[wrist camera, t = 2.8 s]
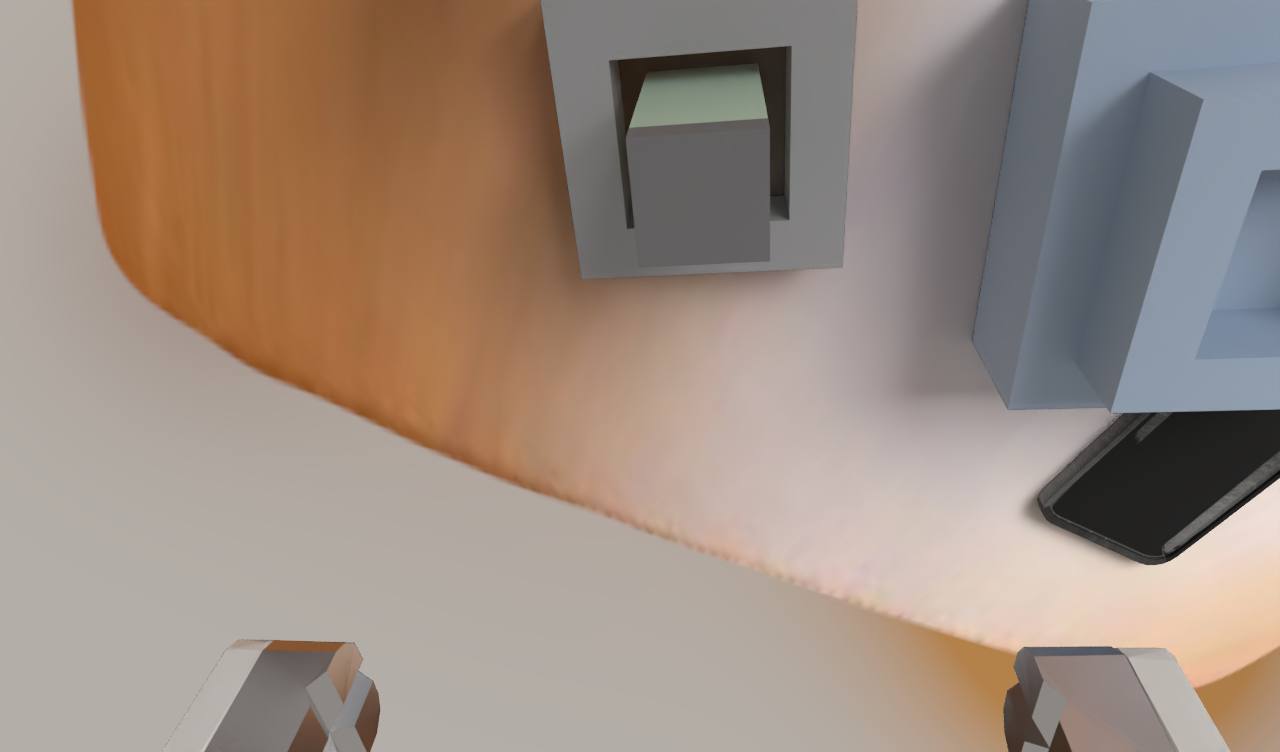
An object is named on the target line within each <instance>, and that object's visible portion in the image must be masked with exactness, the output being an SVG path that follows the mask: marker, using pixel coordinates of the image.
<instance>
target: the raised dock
mask: <svg viewBox="0 0 1280 752" xmlns="http://www.w3.org/2000/svg"><path fill="white" fill-rule="evenodd" d="M972 342H973V344H974V346H975V348H976V350H977V352H978V354H979V355H980V357H981V359H982V361H983V363H984V365H985V367H986V369H987V371H988V373H989V375H990V377H991V378H992V380H993V382H994V384H995V386H996V388H997V390H998V392H999V394H1000V396H1001V398H1002V400H1003V402H1004V403H1005V405H1006V407H1007V409H1008V410H1026V409H1068V408H1107V409H1108V410H1109V412H1110V413H1142V412H1186V411H1230V410H1274V409H1280V0H1029V1H1028V7H1027V13H1026V19H1025V25H1024V31H1023V37H1022V43H1021V49H1020V55H1019V61H1018V67H1017V73H1016V79H1015V85H1014V91H1013V97H1012V103H1011V109H1010V115H1009V121H1008V127H1007V134H1006V140H1005V146H1004V152H1003V158H1002V164H1001V170H1000V176H999V182H998V188H997V194H996V200H995V206H994V212H993V218H992V224H991V230H990V236H989V242H988V248H987V254H986V260H985V266H984V272H983V278H982V284H981V290H980V296H979V302H978V308H977V314H976V320H975V326H974V332H973V338H972Z"/></svg>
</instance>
